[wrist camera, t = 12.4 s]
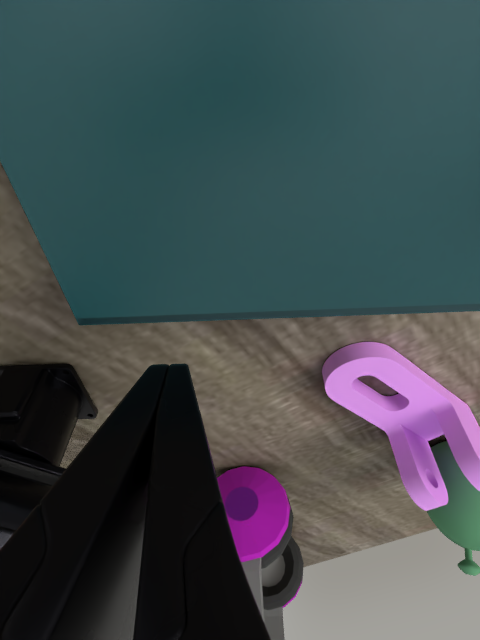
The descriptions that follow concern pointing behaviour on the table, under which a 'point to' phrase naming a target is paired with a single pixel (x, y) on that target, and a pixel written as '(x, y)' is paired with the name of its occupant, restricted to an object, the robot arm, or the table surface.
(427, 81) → the book
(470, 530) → the alien toy
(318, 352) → the table surface
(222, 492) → the headphones
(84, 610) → the robot arm
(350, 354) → the bracket
